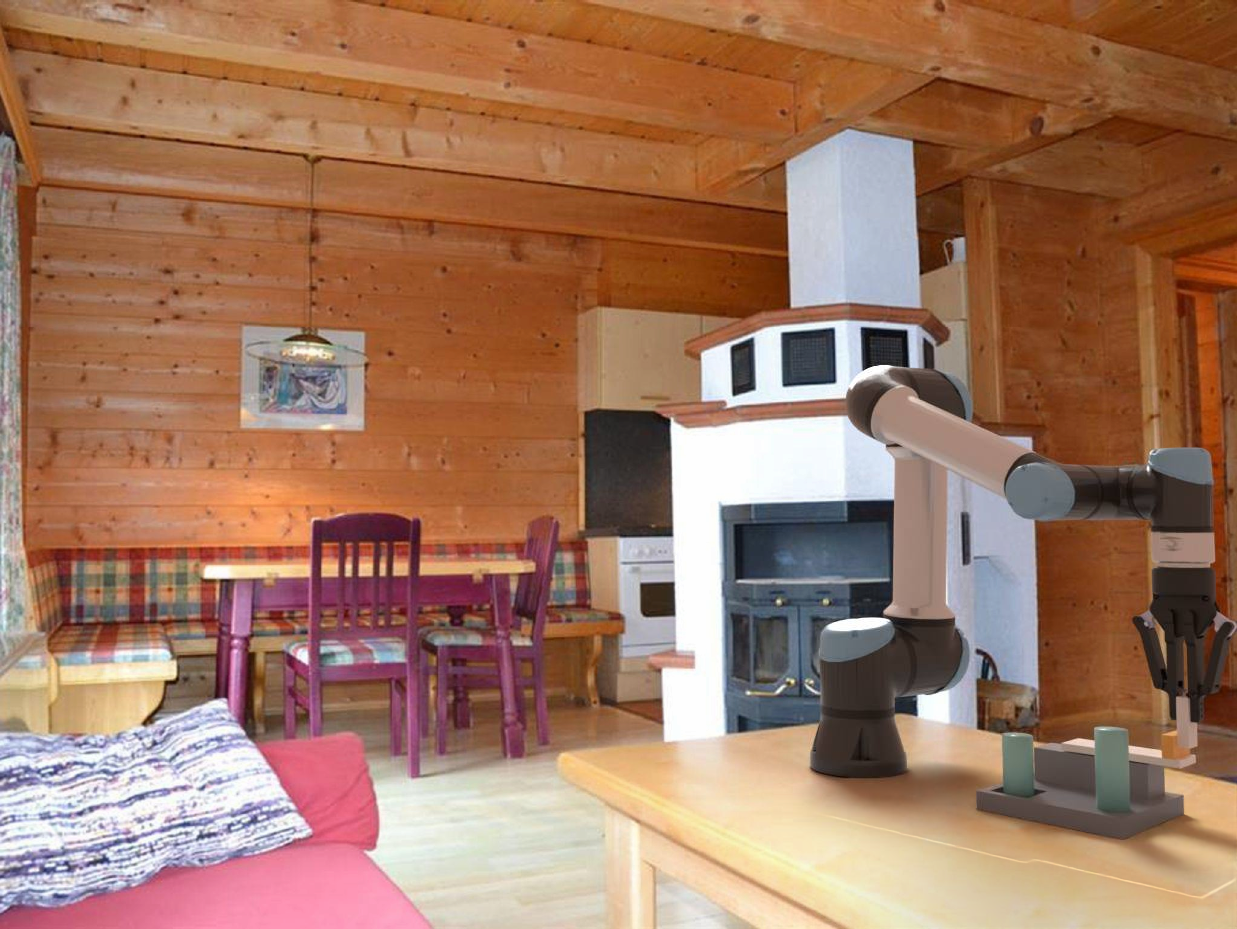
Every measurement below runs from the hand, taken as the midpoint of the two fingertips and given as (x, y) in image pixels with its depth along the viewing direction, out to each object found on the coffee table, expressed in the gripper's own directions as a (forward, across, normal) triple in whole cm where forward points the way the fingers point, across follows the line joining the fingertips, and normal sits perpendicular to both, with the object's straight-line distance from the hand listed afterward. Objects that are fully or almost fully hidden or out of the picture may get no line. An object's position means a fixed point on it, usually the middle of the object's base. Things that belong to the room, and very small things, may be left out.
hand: (1187, 746), depth 149 cm
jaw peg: (+10, -18, -10) cm, 23 cm away
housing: (+10, -12, -6) cm, 16 cm away
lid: (+3, -8, 0) cm, 8 cm away
